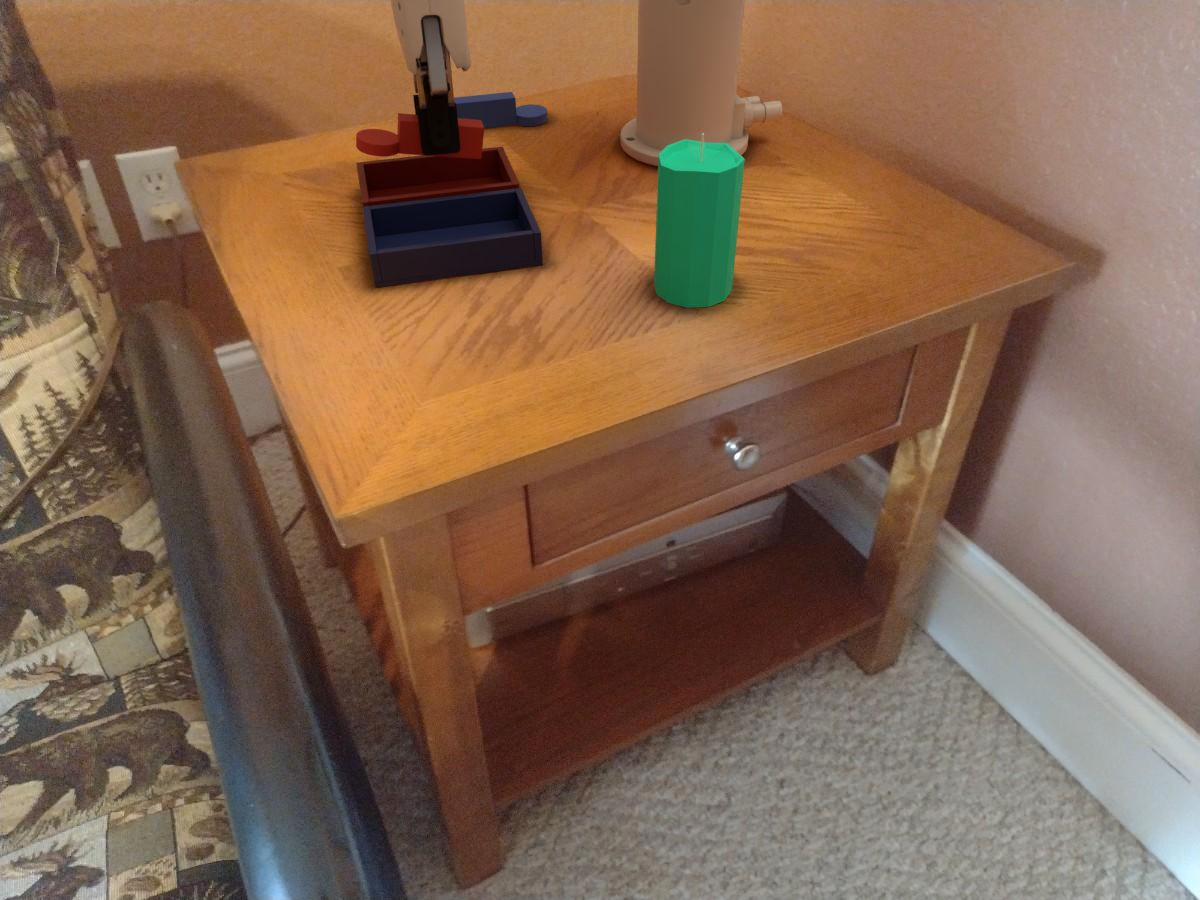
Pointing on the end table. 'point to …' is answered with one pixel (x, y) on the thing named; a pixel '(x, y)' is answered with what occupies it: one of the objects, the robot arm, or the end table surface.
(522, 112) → the blue spoon
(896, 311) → the end table surface
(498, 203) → the navy bin
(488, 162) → the maroon bin
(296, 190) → the end table surface
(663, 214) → the candle
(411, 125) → the red spoon
